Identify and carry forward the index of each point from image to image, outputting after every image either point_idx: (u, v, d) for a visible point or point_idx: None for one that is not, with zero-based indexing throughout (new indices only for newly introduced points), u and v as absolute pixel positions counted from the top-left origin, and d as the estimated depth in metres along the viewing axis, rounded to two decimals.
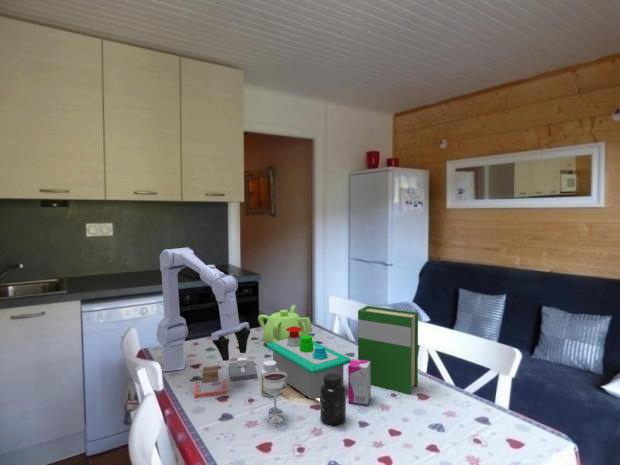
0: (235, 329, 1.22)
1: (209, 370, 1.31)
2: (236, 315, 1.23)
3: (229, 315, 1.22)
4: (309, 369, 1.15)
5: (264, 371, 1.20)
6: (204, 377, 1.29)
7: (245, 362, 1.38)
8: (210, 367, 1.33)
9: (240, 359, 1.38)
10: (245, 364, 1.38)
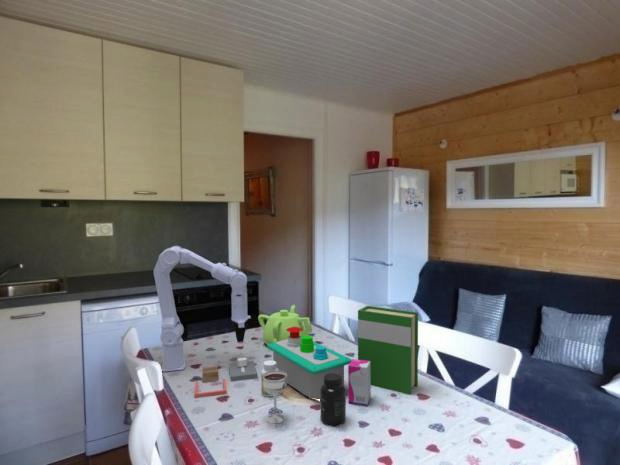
0: (248, 317, 1.44)
1: (209, 370, 1.31)
2: None
3: (245, 306, 1.43)
4: (310, 370, 1.14)
5: (264, 371, 1.20)
6: (204, 377, 1.29)
7: (245, 362, 1.38)
8: (210, 367, 1.33)
9: (240, 359, 1.38)
10: (245, 364, 1.38)
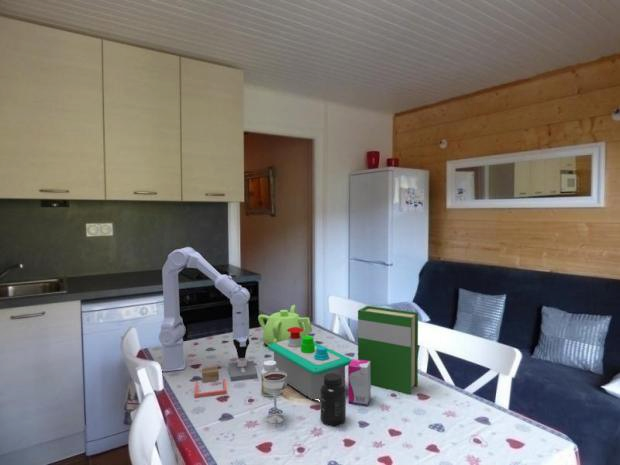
0: (250, 335, 1.40)
1: (209, 370, 1.31)
2: None
3: (247, 323, 1.38)
4: (311, 370, 1.14)
5: (264, 371, 1.20)
6: (204, 377, 1.29)
7: (245, 362, 1.38)
8: (210, 367, 1.33)
9: (240, 359, 1.38)
10: (245, 364, 1.38)
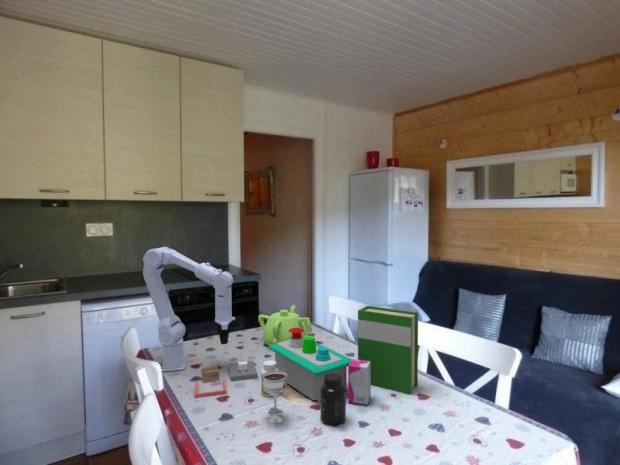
0: (232, 319, 1.39)
1: (209, 370, 1.31)
2: None
3: (230, 307, 1.38)
4: (312, 371, 1.13)
5: (264, 371, 1.20)
6: (205, 377, 1.29)
7: (246, 366, 1.34)
8: (209, 367, 1.33)
9: (241, 363, 1.35)
10: (246, 368, 1.34)
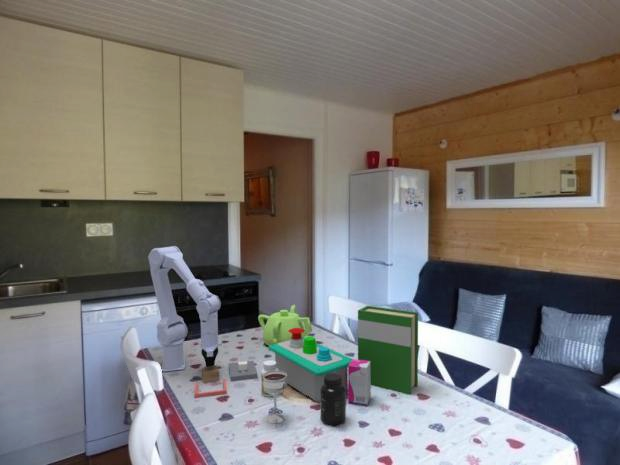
0: (219, 344, 1.35)
1: (209, 370, 1.30)
2: None
3: (216, 332, 1.33)
4: (314, 371, 1.13)
5: (264, 371, 1.20)
6: (205, 377, 1.29)
7: (246, 366, 1.34)
8: (209, 367, 1.33)
9: (241, 363, 1.35)
10: (246, 368, 1.34)
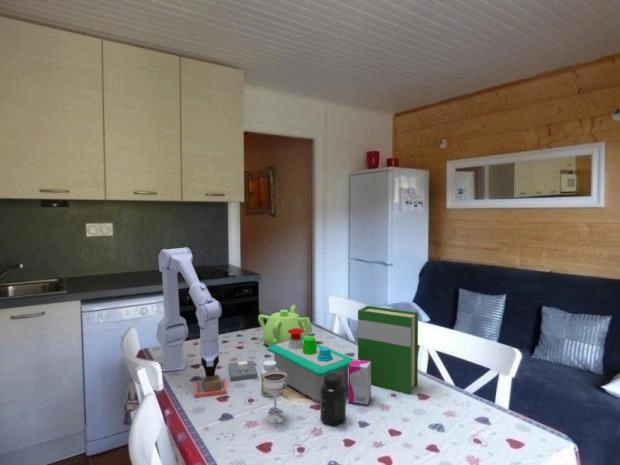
0: (219, 353, 1.27)
1: (211, 380, 1.22)
2: None
3: (216, 340, 1.25)
4: (316, 371, 1.13)
5: (264, 371, 1.20)
6: (207, 388, 1.21)
7: (246, 366, 1.34)
8: (211, 377, 1.25)
9: (241, 363, 1.35)
10: (246, 368, 1.34)
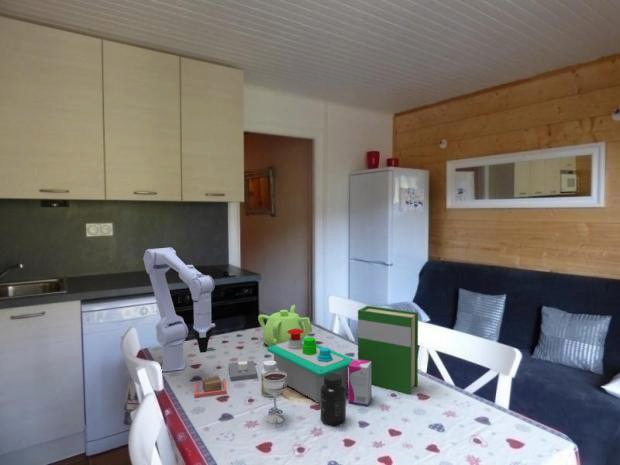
0: (212, 326, 1.31)
1: (211, 381, 1.22)
2: None
3: (209, 313, 1.30)
4: (316, 372, 1.12)
5: (264, 371, 1.20)
6: (207, 389, 1.21)
7: (246, 366, 1.34)
8: (211, 377, 1.25)
9: (241, 363, 1.35)
10: (246, 368, 1.34)
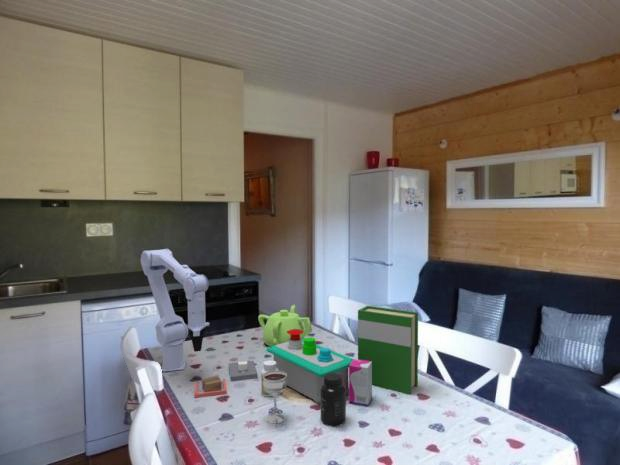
0: (206, 325, 1.32)
1: (211, 381, 1.22)
2: None
3: (203, 312, 1.31)
4: (317, 372, 1.12)
5: (264, 371, 1.20)
6: (207, 389, 1.21)
7: (246, 366, 1.34)
8: (211, 377, 1.25)
9: (241, 363, 1.35)
10: (246, 368, 1.34)
